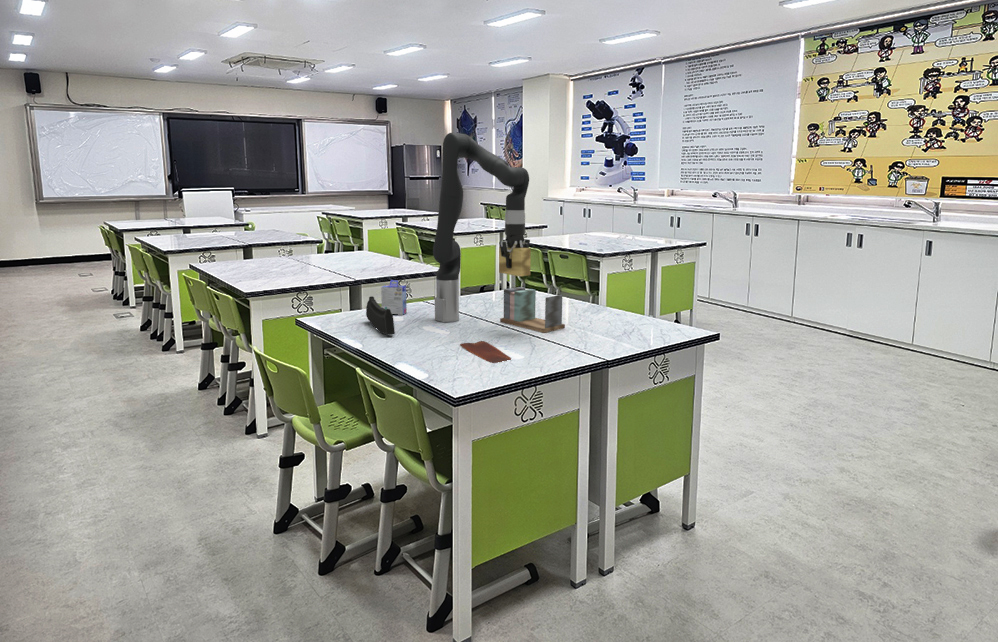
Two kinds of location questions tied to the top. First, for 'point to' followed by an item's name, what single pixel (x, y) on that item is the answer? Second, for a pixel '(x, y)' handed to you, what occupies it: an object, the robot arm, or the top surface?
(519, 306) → the book shelf
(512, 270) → the yellow block
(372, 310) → the magazine
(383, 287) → the ink cartridge box
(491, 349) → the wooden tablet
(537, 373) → the top surface
